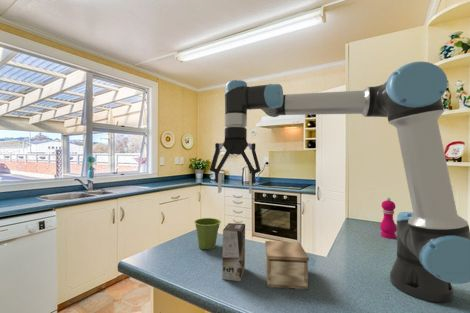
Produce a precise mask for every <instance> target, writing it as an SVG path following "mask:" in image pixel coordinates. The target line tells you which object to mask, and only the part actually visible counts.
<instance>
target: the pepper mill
mask: <svg viewBox="0 0 470 313" xmlns="http://www.w3.org/2000/svg"><path fill="white" fill-rule="evenodd" d="M381 208H382V213H383V219H382V221H381V222H380V225H379V228H380V230H381V231H380V236H381V237H382V238H386V239H397V224H396V223H395V221H394V214H395V209H396V203H395V201H392V199H391V198H390V197H386V200H384V201H382V202H381Z"/></svg>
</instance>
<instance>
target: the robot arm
mask: <svg viewBox="0 0 470 313" xmlns="http://www.w3.org/2000/svg"><path fill="white" fill-rule="evenodd" d="M447 88H448V77H447V74H446V73H445V71H444V70H443V69H442V68H441V67H439V66H438V65H436V64H433V63H431V62H428V61H413V62H409V63H406V64H404V65H402V66H400V67H399V68H397V69H396V70H395V71H393V72H392V73H391V74H390V75H389V77H388V78H387V80H386V81H385V82H384V83H382V84H381V85H377V86H367V87H365V88H364V89H363V90H351V91H350V90H347V91H330V92H329V91H327V92H307V93H291V94H290V93H288V94H287V93H285V94H284V91H283V90H284V89H283V86H282V84H280V83H268V84H263V85H254V86H248V83H247V82H246V81H244V80H241V79H240V80H239V79H238V80H237V79H233V80H230V81H228V82H227V83H226V84H225V91H224V127H225V128H224V141H223V142H221V143H218V142H216V143H215V145H214V147H215V148H214V149H215V150H214V154H213V157H212V160H211V164H210V168H209V171H210V172H211V173H214V183H217V193H218V194H220V193H221V192H222V183H223V182H222V179H223V178H222V176H223V175H222V173H221V170H222V169H223V167H224V164H225V163H226V162H227V160H228V157H229V156H230V155H232V156H233V155H237V156H239V155H241V157H242V158H243V159H244V161H245V163H246V165H247V167H248V168H249V170H250V172H251V173H249V174H248V175H249V177H248V178H249V180H248V181H249V182H248V183H249V184H248V186H249V187H248V189H249V190H248V193H249V194H250V195H251V194H252V193H253V192H252V191H253V190H252V189H253V187H252V186H253V184H256V183H255V182H256V174H258V173H260V172H261V167H260V163H259V159H258V156H257V152H256V147H257V145H256V143H255V142H253V143H251V142H250V143H248V141H247V140H248V139H247V136H248V132H247V131H248V130H247V128H246V127H247V126H248V125H247V124H248V123H247V120H248V110H249V111H251V110H261V111H263V113H265V114H266V115H267V116H269V117H272V118H277V117H279V116H296V115H297V116H300V115H302V116H305V115H307V116H309V115H310V116H311V115H355V114H356V115H358V114H359V115H361V116H364V118H365V117H366V118H367V117H368V118H369V117H370V118H376V117H377V118H387V123H388V124H390V125H392V126H393V127H395V129H396V133H397V137H398V142H399V147H400V153H401V158H402V163H403V168H404V173H405V178H406V182H407V188H408V192H409V196H410V197H409V198H410V202H411V207H412V208H411V209H412V211H400V212H399V213H398V214H397V217H396V227H397V231H396V259H395V261H394V263H393V266H392V268H391V270H390V273H389V280H390V283H391V284H392V285H393V286H394V287H395V288H396V289H398V290H400V291H401V292H403V293H405V294H406V295H409V296H412V297H414V298H417V299H420V300H424V301H427V302H433V303H449V302H451V301H453V299H454V288H453V286H452V284H456V285H457V284H467V283H470V225H469V222H468V220H466V219H464V218H462V217H461V216H460V215H459V214H458V211H457V205H456V200H455V198H454V197H455V195H454V192H453V187H452V184H451V183H452V182H451V178H450V177H451V176H450V173H449V168H448V163H447V158H446V154H445V153H446V152H445V149H444V144H443V140H442V135H441V130H440V126H439V121H438V120H439V118H441V116H442V115H443V113H444V112H445V111H444V110H445V109H444V104H443V100H442V97H443V96H444V94H445V92H446V90H447ZM223 147H224V149H225V150H226V151H225V152H224V154H223V157H221V159H220V162H219V163H218V159H219V155H220V152H221V150H222V148H223ZM247 148H249V150H250V151H251V154H252V157H253V161H254V165H255V168H254V166H253V165H252V163H251V161H250V160H249V158H248V156H247V154H246V152H245V150H246V149H247ZM217 163H218V165H217ZM216 165H217V167H216Z"/></svg>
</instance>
